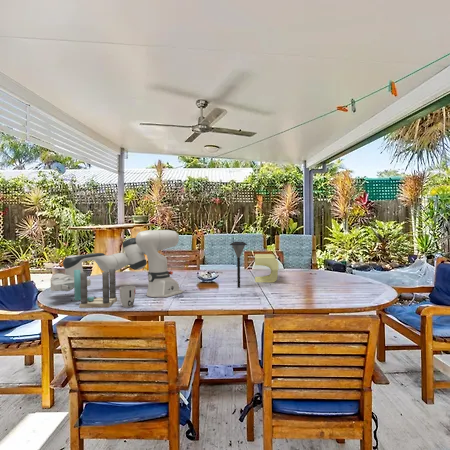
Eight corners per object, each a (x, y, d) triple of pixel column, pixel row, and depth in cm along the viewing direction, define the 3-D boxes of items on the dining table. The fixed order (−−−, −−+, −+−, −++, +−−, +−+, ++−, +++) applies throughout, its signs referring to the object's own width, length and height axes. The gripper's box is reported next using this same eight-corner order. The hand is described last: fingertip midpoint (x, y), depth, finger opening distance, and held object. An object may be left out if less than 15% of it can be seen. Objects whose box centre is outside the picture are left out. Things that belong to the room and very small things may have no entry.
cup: (129, 308, 177) (129, 289, 177) (116, 307, 180) (116, 288, 180) (138, 305, 184) (138, 286, 184) (126, 303, 187) (126, 285, 187)
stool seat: (89, 300, 196) (88, 268, 195) (117, 300, 196) (116, 268, 195) (78, 307, 180) (77, 273, 180) (108, 307, 180) (107, 272, 180)
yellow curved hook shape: (278, 284, 237) (278, 258, 237) (255, 284, 238) (254, 258, 238) (275, 277, 267) (275, 254, 267) (255, 277, 268) (254, 254, 268)
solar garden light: (245, 289, 221) (244, 242, 220) (227, 288, 225) (226, 242, 224) (250, 286, 232) (249, 241, 232) (232, 285, 236) (232, 241, 236)
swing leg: (95, 299, 187) (94, 270, 186) (91, 301, 184) (90, 270, 183) (77, 298, 189) (76, 269, 189) (73, 300, 186) (72, 270, 186)
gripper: (84, 285, 204) (95, 289, 195) (48, 291, 190) (57, 295, 180) (84, 275, 204) (95, 277, 195) (47, 279, 190) (57, 282, 180)
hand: (77, 286), depth 187 cm, fingers open, 8 cm apart
